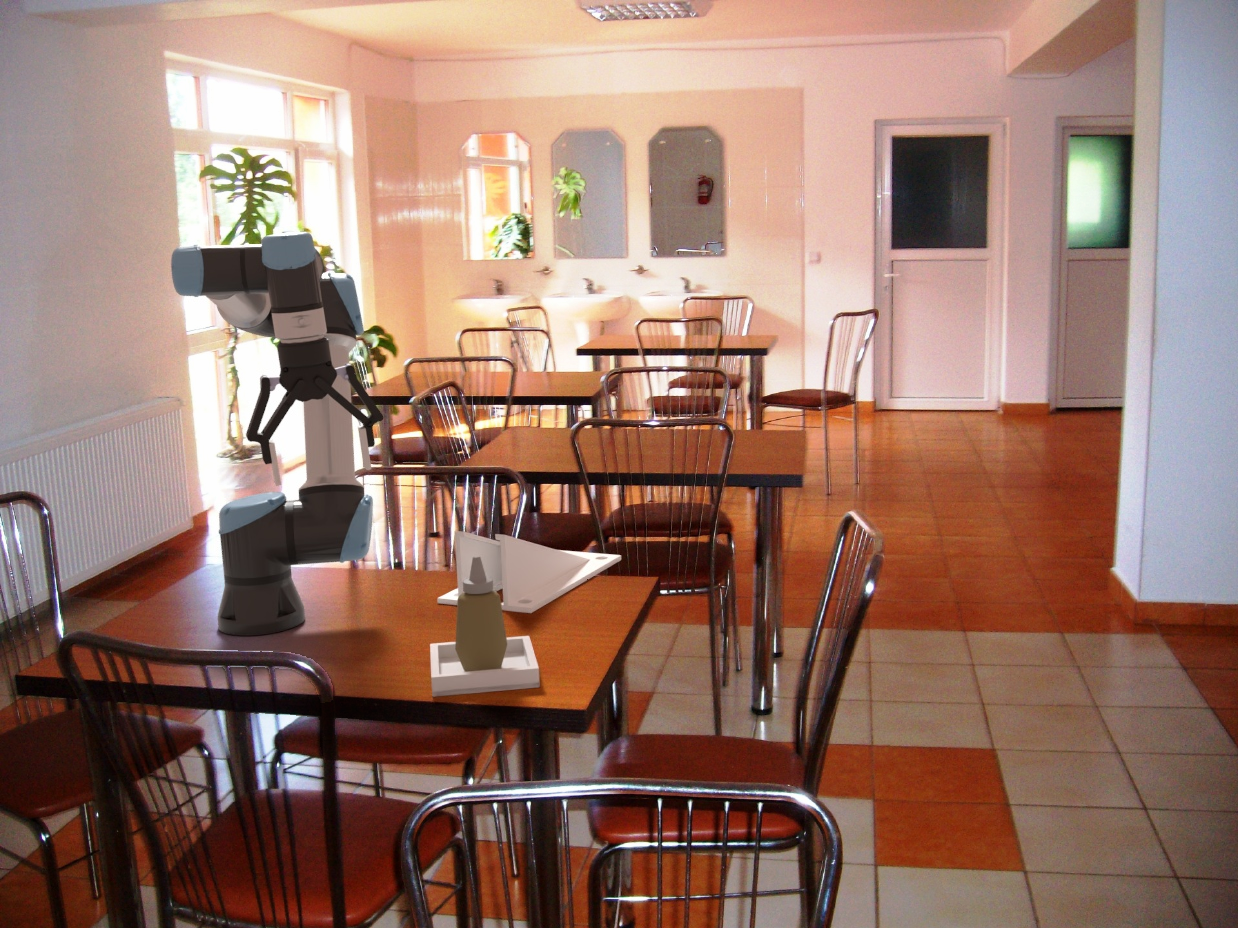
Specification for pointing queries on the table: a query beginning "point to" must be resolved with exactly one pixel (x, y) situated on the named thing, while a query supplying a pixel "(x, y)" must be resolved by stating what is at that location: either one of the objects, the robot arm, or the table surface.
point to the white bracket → (524, 569)
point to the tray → (513, 674)
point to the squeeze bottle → (480, 623)
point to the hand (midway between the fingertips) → (323, 476)
